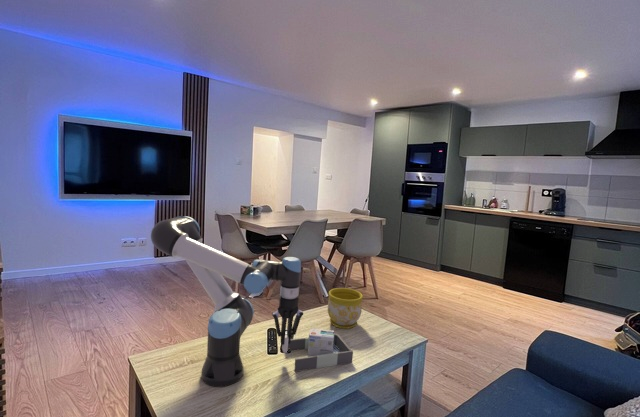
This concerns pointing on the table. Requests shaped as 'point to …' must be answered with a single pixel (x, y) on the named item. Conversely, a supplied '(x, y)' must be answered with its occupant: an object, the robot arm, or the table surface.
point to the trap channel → (321, 360)
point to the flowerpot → (344, 307)
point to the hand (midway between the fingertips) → (284, 351)
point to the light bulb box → (320, 342)
